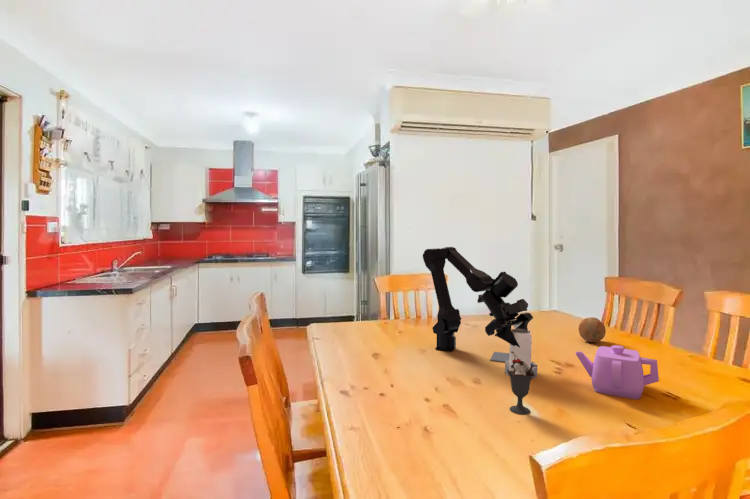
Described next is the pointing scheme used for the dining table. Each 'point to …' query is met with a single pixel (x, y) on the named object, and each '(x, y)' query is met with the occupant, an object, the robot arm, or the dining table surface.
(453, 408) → the dining table surface
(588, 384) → the dining table surface
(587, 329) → the coconut
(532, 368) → the holder
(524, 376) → the sundae
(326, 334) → the dining table surface
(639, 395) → the teakettle
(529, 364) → the can
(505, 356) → the mat
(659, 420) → the dining table surface
